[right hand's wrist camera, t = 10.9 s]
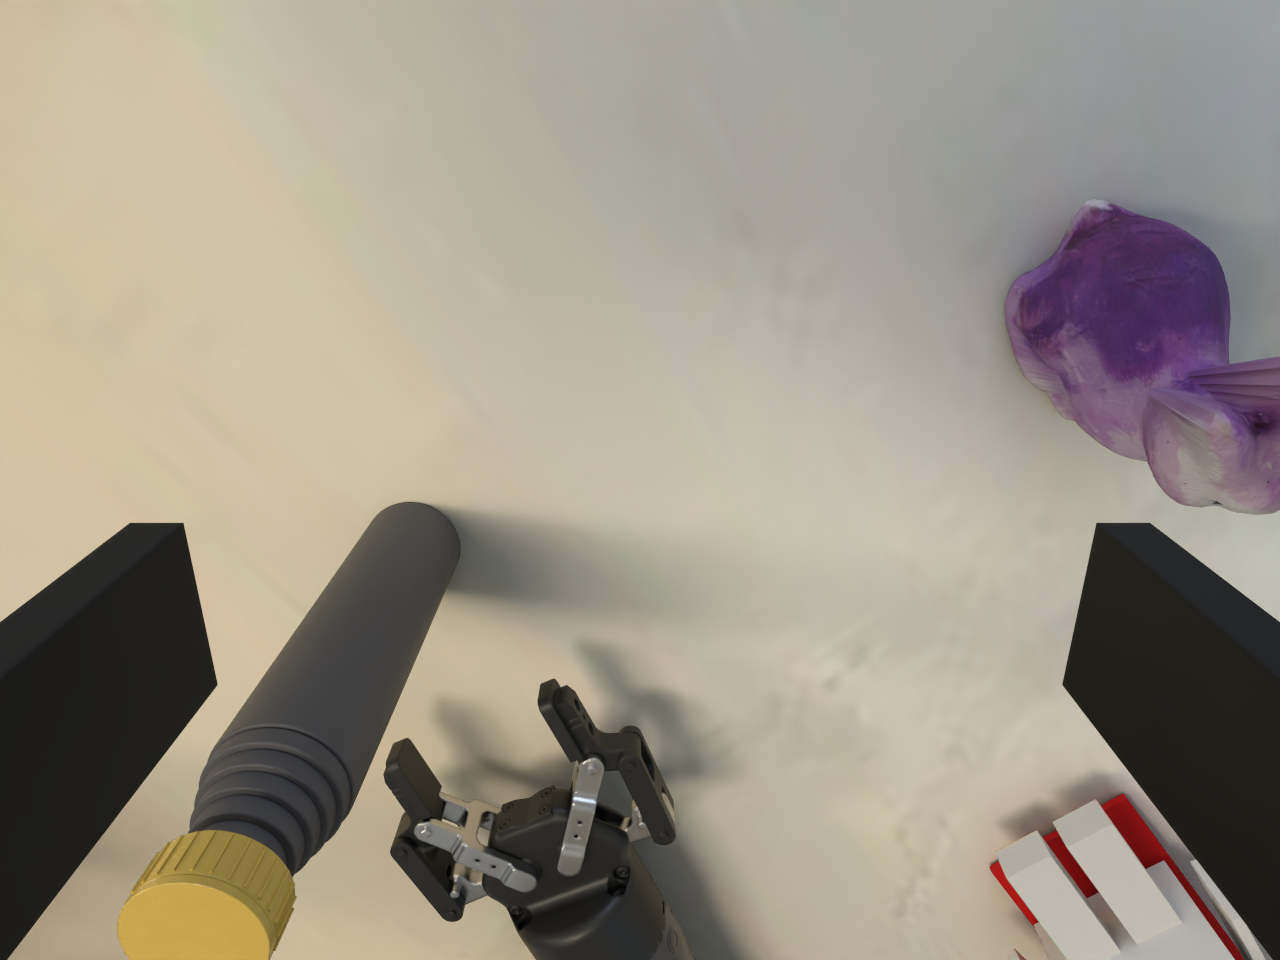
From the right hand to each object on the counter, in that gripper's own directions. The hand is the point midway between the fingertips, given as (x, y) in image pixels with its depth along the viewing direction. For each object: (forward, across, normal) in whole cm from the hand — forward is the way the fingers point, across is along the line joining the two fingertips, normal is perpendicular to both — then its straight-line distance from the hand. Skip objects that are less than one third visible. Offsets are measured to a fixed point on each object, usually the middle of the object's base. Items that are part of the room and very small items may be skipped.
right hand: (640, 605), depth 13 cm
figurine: (+30, -22, +2) cm, 38 cm away
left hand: (+25, +8, +21) cm, 34 cm away
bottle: (+30, +12, +14) cm, 36 cm away
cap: (+6, +12, +14) cm, 19 cm away
